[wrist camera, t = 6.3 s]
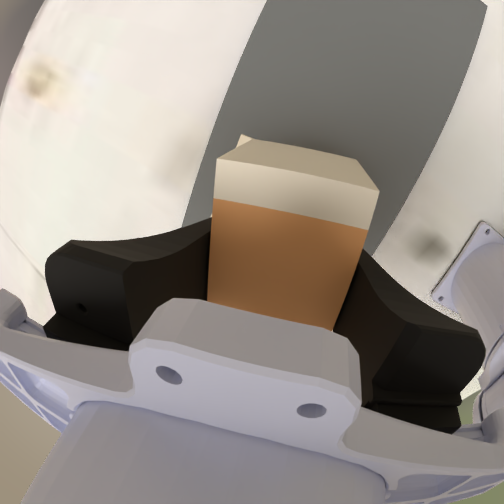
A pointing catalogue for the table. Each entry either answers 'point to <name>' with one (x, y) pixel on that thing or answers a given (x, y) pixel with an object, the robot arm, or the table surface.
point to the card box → (287, 231)
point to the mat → (348, 89)
